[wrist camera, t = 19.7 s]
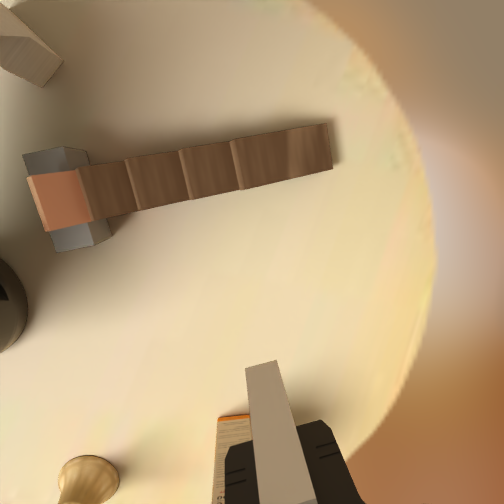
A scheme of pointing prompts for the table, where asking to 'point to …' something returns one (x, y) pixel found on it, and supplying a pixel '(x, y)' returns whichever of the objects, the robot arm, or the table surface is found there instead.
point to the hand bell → (87, 481)
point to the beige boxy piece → (25, 50)
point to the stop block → (61, 162)
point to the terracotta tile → (59, 199)
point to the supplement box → (226, 436)
